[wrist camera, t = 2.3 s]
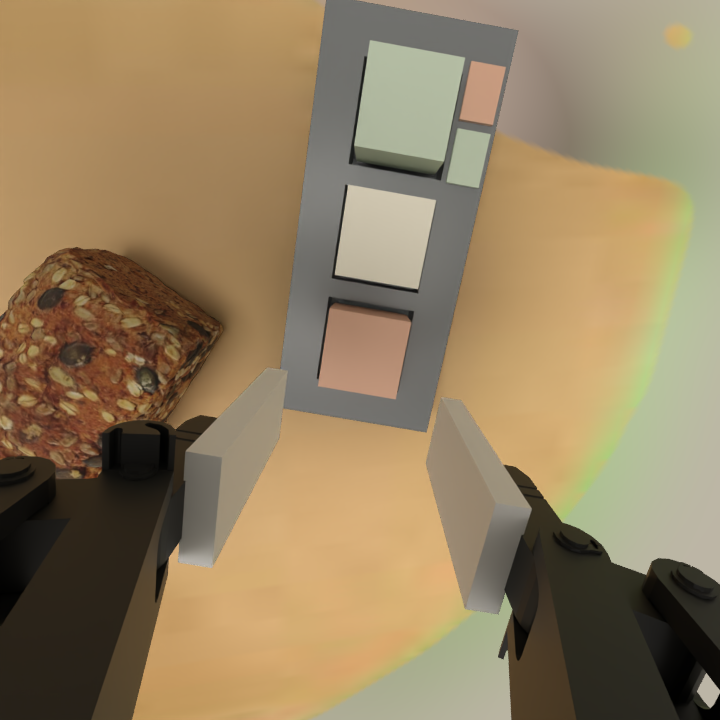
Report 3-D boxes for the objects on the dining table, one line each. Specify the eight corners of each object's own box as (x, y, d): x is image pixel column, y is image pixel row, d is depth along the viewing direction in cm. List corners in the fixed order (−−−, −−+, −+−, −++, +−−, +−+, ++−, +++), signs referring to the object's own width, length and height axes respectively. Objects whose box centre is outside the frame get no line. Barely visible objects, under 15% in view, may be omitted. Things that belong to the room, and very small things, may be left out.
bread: (126, 492, 35) (33, 579, 25) (17, 423, 34) (-125, 489, 24) (239, 326, 31) (179, 356, 22) (121, 242, 30) (1, 233, 20)
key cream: (351, 194, 25) (348, 184, 22) (427, 208, 26) (436, 200, 22) (339, 272, 27) (334, 274, 23) (412, 285, 27) (418, 289, 23)
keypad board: (333, 34, 26) (326, -9, 22) (496, 64, 26) (520, 27, 22) (286, 389, 32) (274, 408, 28) (419, 411, 32) (427, 434, 28)
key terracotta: (334, 302, 27) (329, 308, 24) (406, 314, 27) (411, 322, 24) (324, 371, 28) (317, 386, 25) (392, 382, 28) (395, 399, 25)
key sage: (369, 71, 24) (369, 40, 20) (451, 86, 24) (465, 57, 20) (356, 161, 25) (354, 145, 22) (434, 175, 25) (443, 161, 22)
